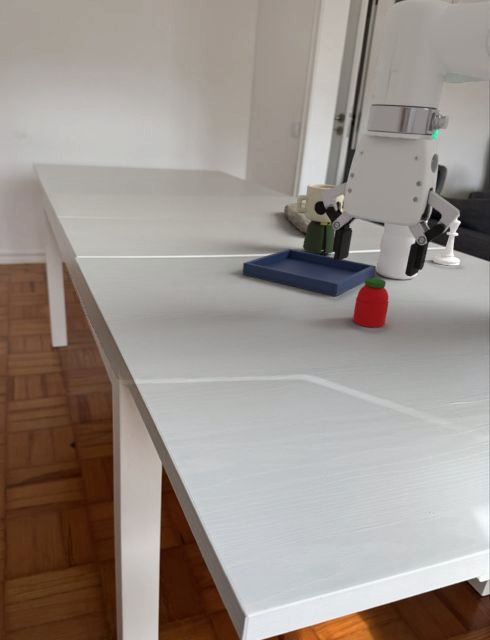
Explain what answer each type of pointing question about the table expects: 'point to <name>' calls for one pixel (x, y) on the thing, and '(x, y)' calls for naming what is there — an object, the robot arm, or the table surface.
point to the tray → (310, 271)
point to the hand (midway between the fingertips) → (374, 266)
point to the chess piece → (449, 247)
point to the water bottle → (396, 249)
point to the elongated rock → (297, 217)
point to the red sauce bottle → (371, 304)
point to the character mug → (318, 219)
